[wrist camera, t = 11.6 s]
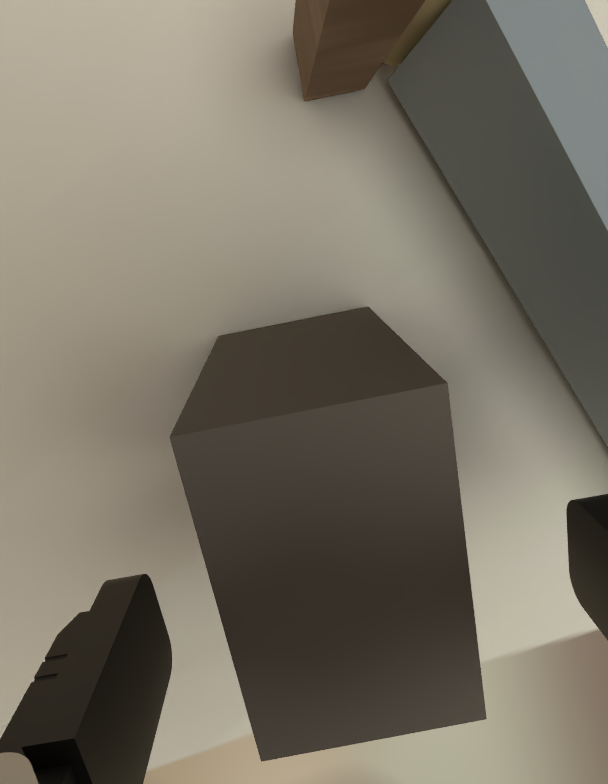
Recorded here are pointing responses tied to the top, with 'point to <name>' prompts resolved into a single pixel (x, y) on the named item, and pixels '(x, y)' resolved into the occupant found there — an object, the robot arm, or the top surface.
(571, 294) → the door
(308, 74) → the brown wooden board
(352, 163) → the top surface
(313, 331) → the block
